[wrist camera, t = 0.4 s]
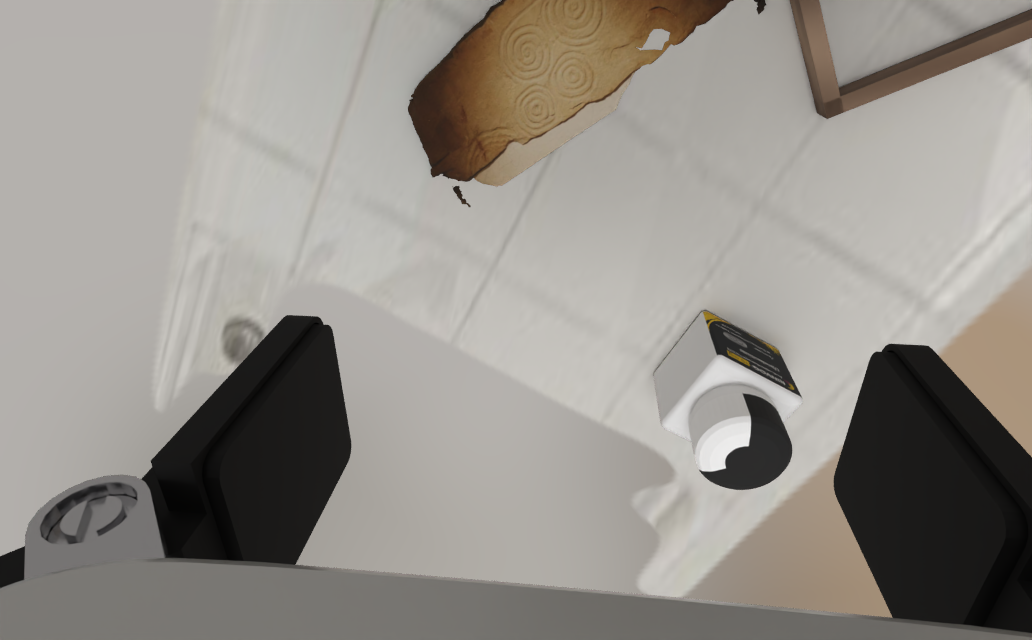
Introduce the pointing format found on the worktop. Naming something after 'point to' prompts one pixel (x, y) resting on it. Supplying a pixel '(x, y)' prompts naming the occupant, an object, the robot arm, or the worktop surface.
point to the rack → (900, 75)
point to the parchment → (538, 79)
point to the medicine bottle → (728, 402)
